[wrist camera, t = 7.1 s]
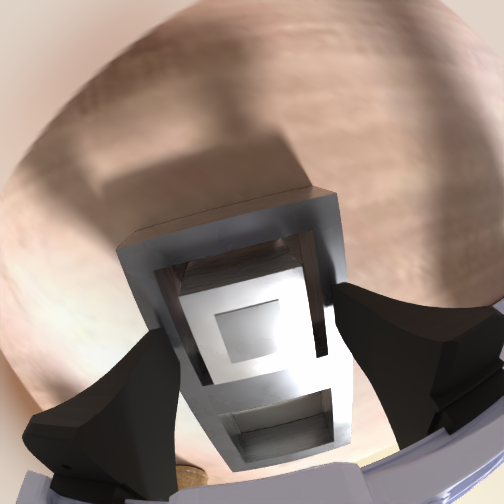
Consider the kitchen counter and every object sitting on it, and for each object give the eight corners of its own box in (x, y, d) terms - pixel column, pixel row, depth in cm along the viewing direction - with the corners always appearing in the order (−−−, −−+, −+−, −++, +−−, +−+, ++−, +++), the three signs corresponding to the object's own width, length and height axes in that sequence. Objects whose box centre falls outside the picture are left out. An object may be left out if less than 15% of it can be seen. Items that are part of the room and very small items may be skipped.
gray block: (277, 233, 14) (302, 266, 10) (292, 309, 16) (316, 360, 11) (190, 256, 14) (178, 297, 10) (214, 329, 15) (214, 385, 11)
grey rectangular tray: (313, 185, 13) (336, 192, 11) (338, 416, 19) (350, 443, 16) (135, 231, 13) (115, 249, 10) (230, 443, 19) (233, 472, 16)
